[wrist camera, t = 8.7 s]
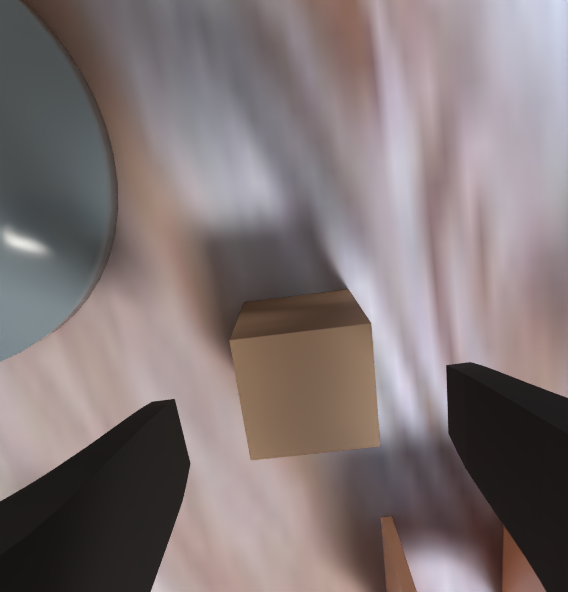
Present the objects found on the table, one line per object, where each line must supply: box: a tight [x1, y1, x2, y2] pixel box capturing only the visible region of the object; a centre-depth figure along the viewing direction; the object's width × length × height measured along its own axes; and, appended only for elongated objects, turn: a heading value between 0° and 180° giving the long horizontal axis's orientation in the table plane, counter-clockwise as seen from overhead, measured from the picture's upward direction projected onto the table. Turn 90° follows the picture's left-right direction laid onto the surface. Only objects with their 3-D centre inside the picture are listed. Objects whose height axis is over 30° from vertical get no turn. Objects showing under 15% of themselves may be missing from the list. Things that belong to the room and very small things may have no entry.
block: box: [229, 289, 380, 460], centre depth 13 cm, size 4×4×4 cm
